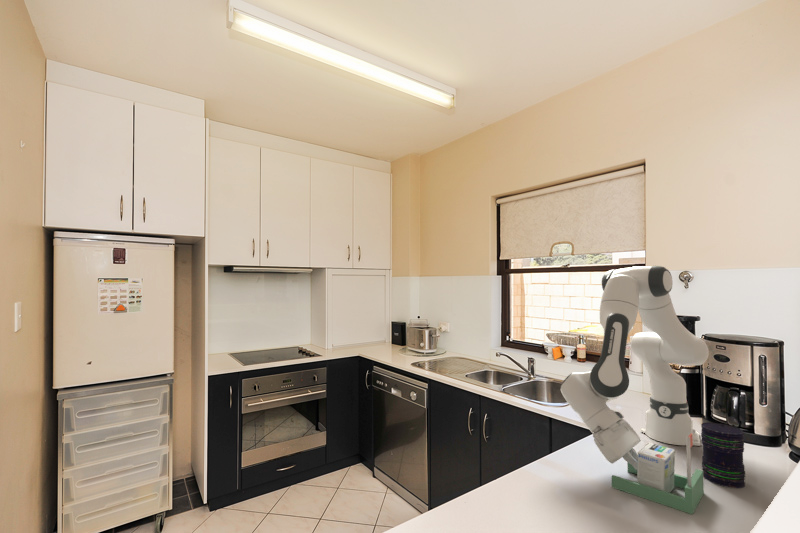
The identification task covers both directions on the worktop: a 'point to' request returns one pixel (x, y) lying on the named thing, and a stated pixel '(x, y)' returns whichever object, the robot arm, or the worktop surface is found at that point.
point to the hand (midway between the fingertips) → (640, 467)
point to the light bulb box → (656, 467)
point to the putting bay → (687, 504)
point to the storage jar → (723, 454)
